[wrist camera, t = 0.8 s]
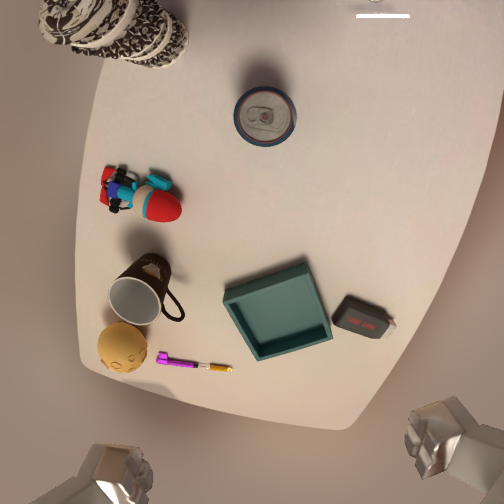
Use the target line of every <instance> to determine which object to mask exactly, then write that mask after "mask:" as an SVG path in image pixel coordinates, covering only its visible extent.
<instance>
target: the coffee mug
mask: <svg viewBox="0 0 504 504" xmlns="http://www.w3.org/2000/svg"><path fill="white" fill-rule="evenodd" d="M170 276H171V268H170V266H169V264H168V262H167V261H166V260H165V259H164V258H163V257H162V256H160V255H157V254H154V253H148V254H144V255H143V256H141V257H140V258H139V259H138V260H137V261H136V262H134V263H133V264H132V265H131V266H130V267H129V268H128V269H127V270H126V271H124V272H123V273H122V274H121V275H120V276H119V277H118V278H117V279H116V280H115V281H114V282H112V284H111V285H110V287H109V290H108V300H109V303H110V305H111V307H112V309H113V310H114V311H115V313H116V314H117V315H118V316H119V317H121V318H122V319H123V320H125V321H127V322H129V323H132V324H135V325H148V324H151V323H153V322H154V321H156V320H157V319H158V317H159V315H160V313H161V312H162V313H163V314H164V315H165V316H166V317H167V318H168V319H170V320H172V321H175V322H181V321H182V320H183V319H184V317H185V313H184V310H183V308H182V307H181V305H180V303H179V302H178V301H177V299H176V298H175V297H174V296H173V294H172V293H171V292H170V291H169V289H168V283H169V280H170ZM166 293H167V294H168V295H169V296H170V297H171V299H172V300H173V301H174V302H175V304H176V305H177V306H178V308H179V310H180V312H181V317H180V318H176V317H173V316H171V315H170V314H169V313H167V311H166V310H165V307H164V304H163V302H164V298H165V294H166Z"/></svg>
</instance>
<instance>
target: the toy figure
mask: <svg viewBox="0 0 504 504" xmlns="http://www.w3.org/2000/svg"><path fill="white" fill-rule="evenodd" d="M114 171H116V172H117V173H116V174H115V179H114V180H115V181H110V182H106V181H107V180H108V178H109V177H110V176H111V175H112V173H113V172H114ZM125 174H126V170H124V169H121V168H117V170H115V169H112V168H109V167H105V168H104V171H103V174H102V179H101V186H102V185H103V186H102V189H101V194H100V202H102V203H103V204H105V205H107V206H109V202H108V197H107V196H109V197H111V198H112V199H111V200H110V204H111V206H109V210H110V211H111V212H113V213H118V212H119V209H120V210H124V209H130V208H132V207H133V208H134V210H135V211H136V213H137V214H139V215H141V216H143V217H144V218H147V219H148V220H152V221H156V222H171V221H174V220H176V219H178V218H179V217H180V215H181V212H182V208H181V205H180V203H179V202H178V200H177V199H176V198H175V197H174V196H173V195H171V194H170V193H168V192H167V191H168V190H169V189H170V188H171V182H170V181H168V180H166V179H164V178H162V177H160V176H158V175H156V174H154V175H149V176H147V177H148V178H149V179H150V180H151V181H148V182H145V183H146V184H147V185H144V186H142V187H140V188H138V182H136V181H135V180H133V179H132V178H130V177H128V176H125ZM125 177H126V178H127V179H128V180H130V181H132V188H130V187H127V186H124V185H123V183H124V179H125ZM105 184H107V185H109V186H108V188H107V187H105ZM106 190H108V193H107V192H106ZM122 199H123V200H126V201H129V202H130V203H129V204H128V205H127V206H128V207H124V208H121V207H119V205H120V202H121V201H122Z"/></svg>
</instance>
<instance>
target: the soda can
mask: <svg viewBox="0 0 504 504" xmlns="http://www.w3.org/2000/svg"><path fill="white" fill-rule="evenodd" d="M233 117H234V124H235V127H236V129H237V131H238V133H239V134H240V135H241V137H242V138H243V139H245V140H246V141H247V142H249V143H251V144H253V145H256V146H261V147H270V146H275V145H278V144H280V143H282V142H283V141H285V140H286V139H287V138H288V137H289V136H290V135H291V133H292V132H293V130H294V128H295V125H296V120H297V114H296V109H295V106H294V104H293V102H292V100H291V99H290V98H289V97H288V96H287V95H286V94H285V93H284V92H282V91H281V90H279V89H276V88H273V87H266V86H265V87H257V88H253V89H251V90H249V91H247V92H246V93H245V94H243V95H242V96H241V98H240V99H239V100H238V102H237V104H236V106H235V109H234V116H233Z"/></svg>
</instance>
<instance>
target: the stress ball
mask: <svg viewBox="0 0 504 504" xmlns="http://www.w3.org/2000/svg"><path fill="white" fill-rule="evenodd" d="M98 353H99V356H100V358H101V362H102V363H103V364H104V365H105V366H106V367H107V368H110V369H112V370H114V371H117V372H121V373H129V372H132V371H134V370H136V369H137V368H138V367H140V366H141V364H142V363H143V362H144V360H145V359H146V356H147V342H146V341H145V338H144V336H143V334H142V333H141V332H140V331H139V330H138V329H137V328H136V327H134V326H133V325H131V324H128V323H123V322H119V323H114V324H111V325H109V326H108V327H106V328H105V329H104V330H103V331H102V333H101V334H100V336H99V339H98Z"/></svg>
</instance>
